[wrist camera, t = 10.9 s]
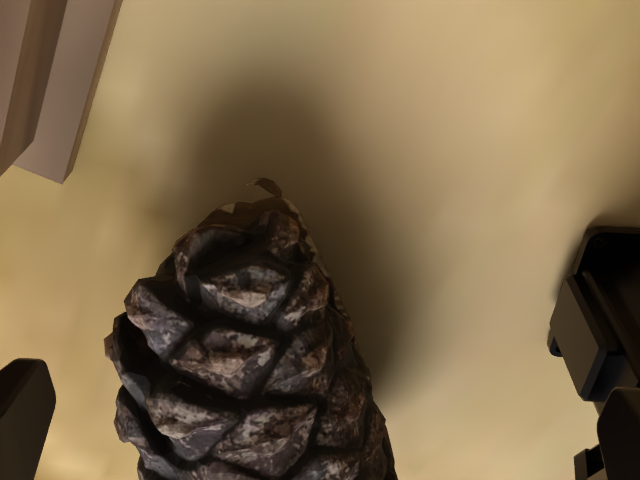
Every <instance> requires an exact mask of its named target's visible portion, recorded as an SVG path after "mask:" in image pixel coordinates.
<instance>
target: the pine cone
mask: <svg viewBox="0 0 640 480" xmlns="http://www.w3.org/2000/svg"><path fill="white" fill-rule="evenodd" d="M247 185H259V186H261V187H262V188H264V189H265V190H267V191H268V192H270V193H272V194H273V195H275V196H276V197H272V198H268V199H263V200H259V201H257V202H254V203H243V202H238V203H233V204H227V205H222V206H219V207H218V208H217V209H216V210H215V211H214V212H212V213H211V214H210V215H209V216H208V217H207V218H206V219H205V220H204V221H202V222H201V223H200V224H199V225H198V227H197V228H194V229H191V230H190V231H189V232H188V233H186V234H185V235H184V236H183V237H181V238H180V239H179V240H177V241H176V243H175V245H174V247H173V248H172V251H173V253H172V254H171V255H170V256H169V257H168V258H167V259H166V260H165V261H164V262H163V263H162V264H161V265H160V266H159V268H158V271H157V273H156V276H154V277H148V278H143V279H138V280H137V282H136V283H135V285H134V286H133V287H132V289H131V290H130V292H129V294H128V295H127V297H126V298H125V300H124V303H125V307H126V311H127V312H124V313H122V314H120V315H119V316H117V317H116V318H114V324H113V332H112V333H111V334H110V335H109V336H107V337H106V338H105V339H104V345H105V356H106V357H108V358H109V359H110V360H112V361H113V363H114V366H115V368H116V370H117V372H118V375H119V377H120V379H121V382H122V383H123V385H122V386H121V388H120V389H119V392H118V395H117V399H116V406H117V411H116V417H115V420H114V425H115V428H116V431H117V433H118V436H119V439H120V440H121V441H122V442H124V443H125V442H129V441H130V442H131V443H132V444H133V445H134V446H136V448H137V449H138V451H139V453H140V457H139V461H138V467H137V471H138V477H139V480H398V478H397V475H396V472H395V469H394V463H395V461H394V457H393V452H392V448H391V443H390V439H389V435H388V431H387V428H386V425H385V421H386V419H385V417H384V416H383V414H382V413H381V411H380V410H379V408H378V407H377V405H376V404H375V402H374V401H373V397H372V387H371V381H370V372H369V370H368V368H367V367H366V366H365V364H364V361H363V358H362V356H361V355H360V353H359V349H358V344H357V341H356V337H355V333H354V329H353V326H352V323H351V320H350V318H349V316H348V314H347V312H346V310H345V307H344V305H343V303H342V301H341V299H340V297H339V295H338V293H337V291H336V289H335V286H334V284H333V282H332V280H331V278H330V276H329V273H328V271H327V269H326V267H325V265H324V263H323V261H322V258H321V256H320V254H319V252H318V250H317V248H316V246H315V244H314V242H313V240H312V239H311V236H310V233H309V231H308V229H307V227H306V224H305V222H304V220H303V218H302V216H301V214H300V211H299V210H298V209H297V207H296V206H295V205H294V204H293V203H291V202H290V201H289V200H288V199H285V198H282V197H281V193H282V191H281V190H280V189H279V188H278V187H277V186H276V185H275V184H274V183H273V182H272V181H270V180H267V179H265V178H260V179H253V180H252V181H250V182H249V183H247V184H246V185H244V186H247Z"/></svg>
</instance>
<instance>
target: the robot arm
mask: <svg viewBox="0 0 640 480" xmlns="http://www.w3.org/2000/svg"><path fill="white" fill-rule="evenodd" d="M602 237H603V239H602V240H601V241H600V242H596V243H594V242H595V240H596V239H598V238H602ZM550 327H551V332H550V335H549V337H548V340H547V346H548V348H549V351H550V353H551V354H552V355H554V356H557V357H563V359H564V361H565V364H566V366H567V368H568V371H569V373H570V376H571V378H572V381H573V383H574V386H575V388H576V391H577V393H578V395H579V396H580V397H581V398H582V400H583V401H591V402H593V403H594V405H595V408H596V410H597V412H598V415H599V418H598V422H597V435H598V440H599V444H598V445H596V446H594V447H593V448H591V449H587V448H586V449H585V450H583V451H582V452H580V453H578V454H577V455H575V456H574V466H575V480H640V228H628V227H608V226H598V227H594V228H591V229H590V230H588V231H587V232H586V234H585V235H584V237H583V240H582V243H581V246H580V249H579V251H578V254H577V257H576V260H575V263H574V266H573V269H572V272H571V274H569V275H568V276H567V277H566V278H565V279H564V282H563V285H562V288H561V291H560V294H559V297H558V300H557V303H556V306H555V308H554V311H553V314H552V317H551V320H550ZM55 404H56V394H55V390H54V387H53V383H52V380H51V377H50V374H49V371H48V367H47V365H46V363H45V362H44V361H43V360H42V359H32V358H18V359H15V360H13V361H12V362H10V363H9V364H8V365H6V366H5V367H4V368H2V369H1V370H0V480H34V477H35V474H36V470H37V467H38V463H39V460H40V457H41V453H42V450H43V446H44V443H45V440H46V436H47V433H48V430H49V426H50V423H51V419H52V416H53V413H54V409H55Z"/></svg>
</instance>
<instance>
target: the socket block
mask: <svg viewBox="0 0 640 480" xmlns="http://www.w3.org/2000/svg"><path fill="white" fill-rule="evenodd" d="M121 3H122V0H0V176H1V175H2V174H3V173H4V172H5V171H6V170H7V169H8V168H9V167H10V166H11V165H15V166H17V167H20V168H22V169H25V170H27V171H30V172H32V173H35V174H37V175H40V176H42V177H45V178H47V179H50V180H52V181H55V182H57V183H60V184H63V182H64V181H65V180H66V178H67V177H68V176H69V174H70V173H71V172H72V170H73V166H74V163H75V160H76V156H77V153H78V149H79V146H80V143H81V139H82V136H83V132H84V129H85V126H86V122H87V119H88V115H89V112H90V109H91V105H92V102H93V98H94V95H95V92H96V88H97V85H98V81H99V78H100V75H101V71H102V68H103V64H104V61H105V58H106V54H107V51H108V47H109V44H110V41H111V37H112V34H113V30H114V27H115V23H116V20H117V17H118V13H119V10H120V6H121Z"/></svg>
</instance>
